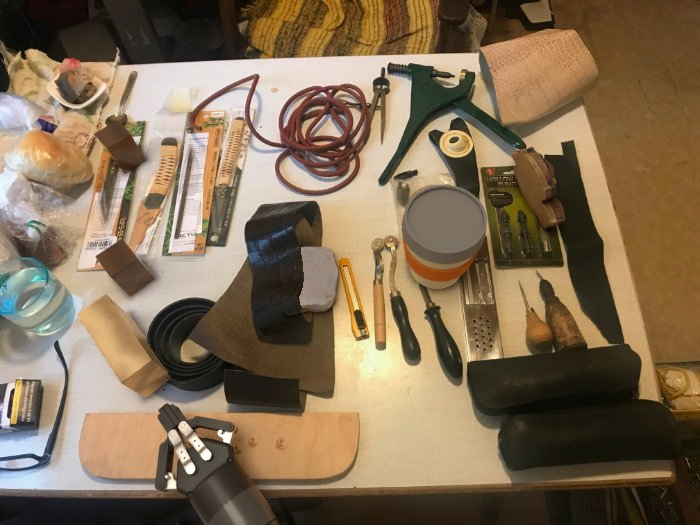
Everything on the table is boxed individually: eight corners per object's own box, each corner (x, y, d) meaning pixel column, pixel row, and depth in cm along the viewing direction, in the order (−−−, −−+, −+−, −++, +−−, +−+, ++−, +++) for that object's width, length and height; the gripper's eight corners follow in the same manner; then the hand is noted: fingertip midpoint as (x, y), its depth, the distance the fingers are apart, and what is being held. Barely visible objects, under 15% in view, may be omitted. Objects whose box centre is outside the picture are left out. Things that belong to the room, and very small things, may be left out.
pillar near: (131, 297, 88) (109, 276, 81) (117, 278, 90) (94, 256, 83) (156, 279, 89) (136, 257, 82) (141, 261, 91) (122, 238, 84)
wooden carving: (567, 232, 90) (587, 198, 81) (543, 240, 89) (561, 207, 80) (520, 163, 97) (533, 126, 88) (498, 171, 97) (510, 134, 88)
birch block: (146, 398, 79) (120, 383, 71) (104, 335, 85) (76, 314, 77) (174, 377, 81) (151, 359, 73) (131, 316, 86) (105, 294, 78)
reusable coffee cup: (394, 238, 91) (396, 187, 78) (464, 231, 91) (479, 178, 78) (404, 303, 85) (408, 259, 72) (479, 295, 85) (498, 250, 71)
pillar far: (125, 175, 101) (106, 148, 94) (113, 161, 103) (94, 133, 96) (147, 161, 102) (130, 133, 95) (135, 147, 104) (117, 119, 97)
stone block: (332, 255, 92) (276, 256, 90) (336, 242, 88) (277, 243, 86) (339, 317, 86) (279, 319, 85) (342, 306, 82) (280, 308, 80)
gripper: (269, 468, 64) (194, 369, 71) (180, 548, 61) (110, 435, 67) (279, 475, 71) (210, 383, 78) (200, 547, 67) (134, 444, 74)
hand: (164, 407), depth 72 cm, fingers closed
